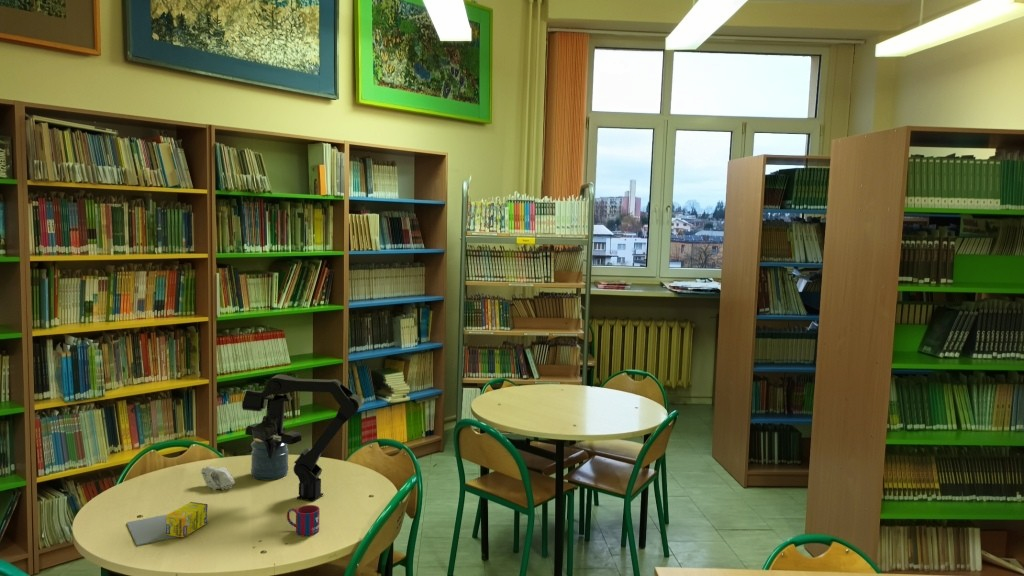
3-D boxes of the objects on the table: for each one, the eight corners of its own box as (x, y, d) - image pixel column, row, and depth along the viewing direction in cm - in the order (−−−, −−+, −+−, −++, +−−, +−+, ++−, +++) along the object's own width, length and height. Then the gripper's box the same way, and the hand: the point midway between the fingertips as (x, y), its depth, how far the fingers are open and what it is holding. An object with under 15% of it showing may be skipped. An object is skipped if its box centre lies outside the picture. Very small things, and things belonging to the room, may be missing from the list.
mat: (177, 513, 211) (177, 512, 211) (191, 534, 197) (191, 533, 197) (126, 523, 202) (126, 522, 202) (136, 546, 188) (136, 544, 188)
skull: (226, 486, 227) (204, 460, 229) (213, 502, 230) (192, 475, 232) (243, 477, 235) (222, 451, 236) (230, 493, 238) (209, 467, 239)
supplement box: (208, 522, 204) (183, 538, 193) (190, 520, 205) (165, 535, 194) (208, 503, 203) (183, 517, 193) (190, 501, 205) (165, 515, 194)
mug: (310, 538, 197) (310, 515, 196) (281, 532, 200) (281, 509, 200) (323, 529, 203) (324, 507, 203) (295, 523, 206) (296, 501, 206)
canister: (279, 466, 257) (279, 420, 256) (294, 475, 247) (295, 428, 246) (245, 473, 248) (245, 426, 247) (259, 483, 238) (259, 434, 237)
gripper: (235, 412, 220) (231, 459, 221) (282, 422, 214) (278, 471, 215) (258, 406, 231) (254, 451, 232) (304, 416, 225) (300, 462, 226)
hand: (271, 458), depth 226 cm, fingers closed
